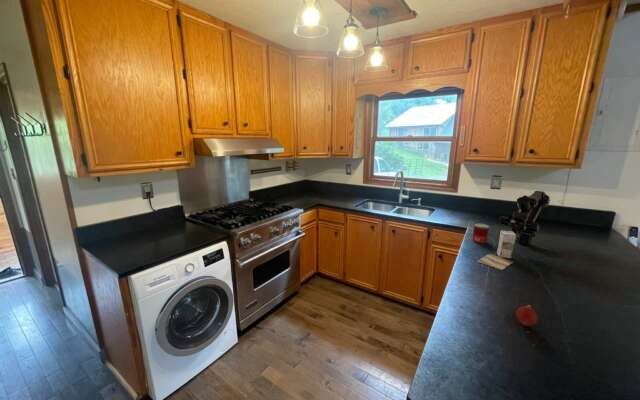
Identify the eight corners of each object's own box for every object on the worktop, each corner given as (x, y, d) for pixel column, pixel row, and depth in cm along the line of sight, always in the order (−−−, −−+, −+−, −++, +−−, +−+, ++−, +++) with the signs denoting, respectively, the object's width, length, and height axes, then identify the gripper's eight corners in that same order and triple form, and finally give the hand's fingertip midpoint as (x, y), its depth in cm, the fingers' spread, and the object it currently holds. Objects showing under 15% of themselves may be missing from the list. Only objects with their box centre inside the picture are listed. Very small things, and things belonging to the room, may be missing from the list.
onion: (510, 319, 95) (514, 300, 93) (525, 319, 95) (529, 299, 93) (523, 331, 89) (528, 310, 87) (539, 330, 90) (544, 310, 88)
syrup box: (507, 254, 150) (512, 231, 146) (511, 259, 144) (516, 234, 141) (496, 253, 151) (500, 229, 148) (499, 257, 146) (503, 233, 143)
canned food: (488, 244, 165) (491, 227, 163) (474, 243, 167) (477, 226, 164) (483, 239, 172) (486, 224, 170) (470, 238, 174) (472, 223, 171)
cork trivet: (488, 254, 150) (489, 253, 150) (513, 262, 140) (513, 261, 140) (476, 261, 140) (476, 261, 140) (501, 270, 131) (501, 269, 131)
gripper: (502, 203, 157) (492, 223, 153) (541, 209, 143) (531, 232, 139) (505, 213, 164) (495, 233, 160) (543, 221, 149) (533, 243, 145)
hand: (512, 235), depth 151 cm, fingers closed
